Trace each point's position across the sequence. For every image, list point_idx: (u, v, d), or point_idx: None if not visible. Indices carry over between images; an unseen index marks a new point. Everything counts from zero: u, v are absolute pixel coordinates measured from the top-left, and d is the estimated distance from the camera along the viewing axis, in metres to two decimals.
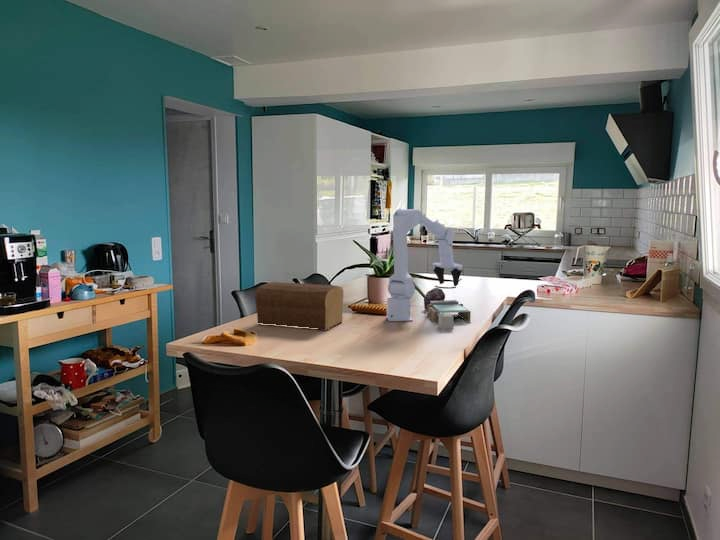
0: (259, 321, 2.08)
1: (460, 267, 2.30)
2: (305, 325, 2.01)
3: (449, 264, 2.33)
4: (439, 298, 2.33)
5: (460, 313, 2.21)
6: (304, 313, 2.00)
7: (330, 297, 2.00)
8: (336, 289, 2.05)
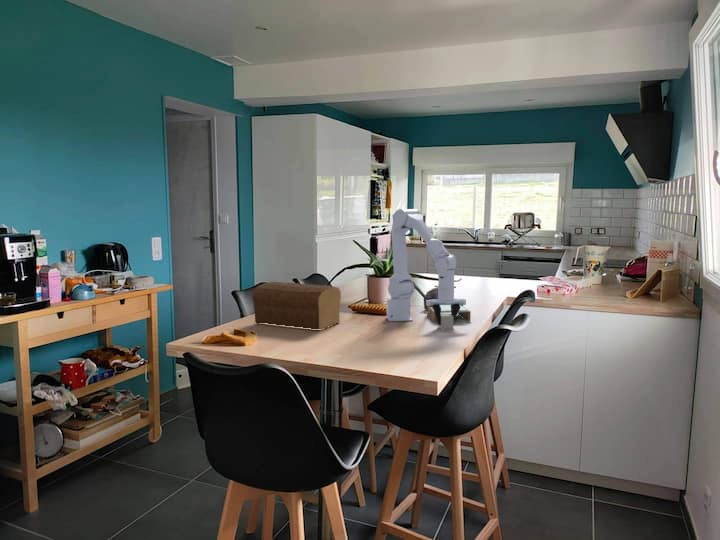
0: (256, 320, 2.10)
1: (426, 302, 2.00)
2: (300, 325, 2.01)
3: None
4: None
5: (460, 313, 2.21)
6: (298, 313, 2.00)
7: (325, 297, 2.00)
8: (332, 289, 2.04)
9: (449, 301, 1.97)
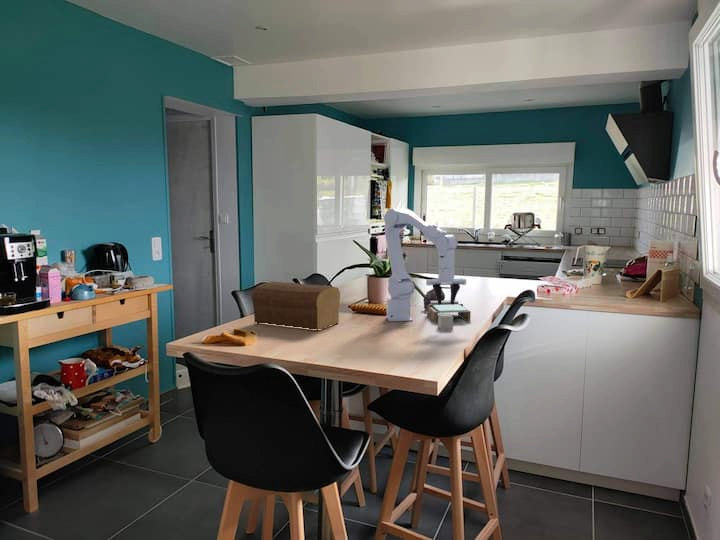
0: (256, 320, 2.10)
1: (426, 282, 1.99)
2: (298, 325, 2.01)
3: None
4: None
5: (460, 313, 2.21)
6: (297, 313, 2.00)
7: (323, 297, 1.99)
8: (331, 289, 2.04)
9: (449, 280, 1.96)
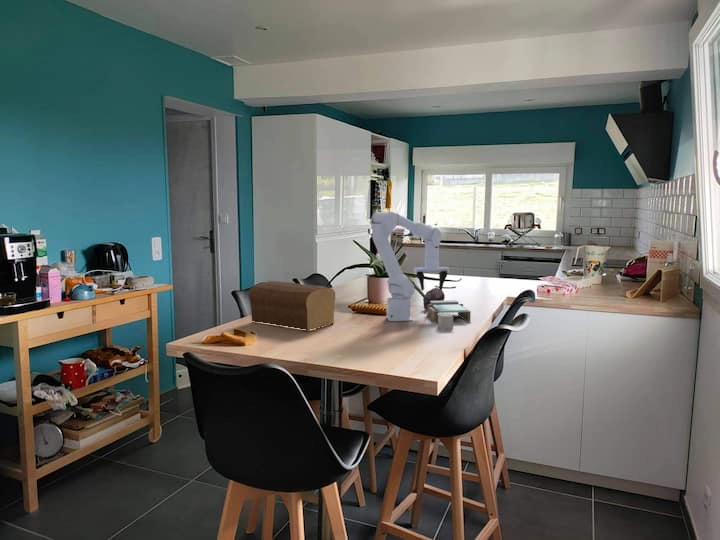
0: (253, 319, 2.13)
1: (414, 269, 2.23)
2: (290, 325, 2.01)
3: None
4: (438, 298, 2.33)
5: (460, 313, 2.21)
6: (289, 313, 2.01)
7: (315, 298, 1.98)
8: (324, 290, 2.03)
9: (434, 268, 2.20)
